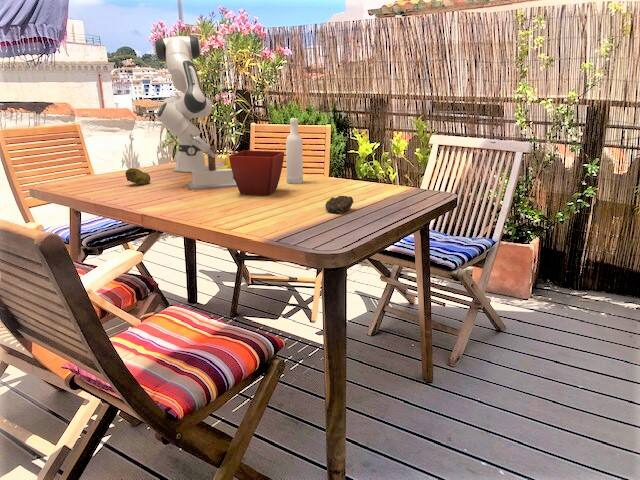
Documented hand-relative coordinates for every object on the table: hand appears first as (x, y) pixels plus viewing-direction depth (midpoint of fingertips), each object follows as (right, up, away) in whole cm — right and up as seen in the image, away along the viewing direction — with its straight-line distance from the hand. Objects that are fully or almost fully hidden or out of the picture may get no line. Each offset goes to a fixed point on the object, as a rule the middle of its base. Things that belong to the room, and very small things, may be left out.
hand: (212, 155), depth 240 cm
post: (-1, -7, +2) cm, 7 cm away
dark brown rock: (+56, -28, -45) cm, 77 cm away
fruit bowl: (+6, -6, +29) cm, 30 cm away
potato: (-35, -13, +6) cm, 38 cm away
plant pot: (+22, -18, -12) cm, 31 cm away
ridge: (-1, -13, +4) cm, 14 cm away
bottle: (+37, -11, +12) cm, 40 cm away
